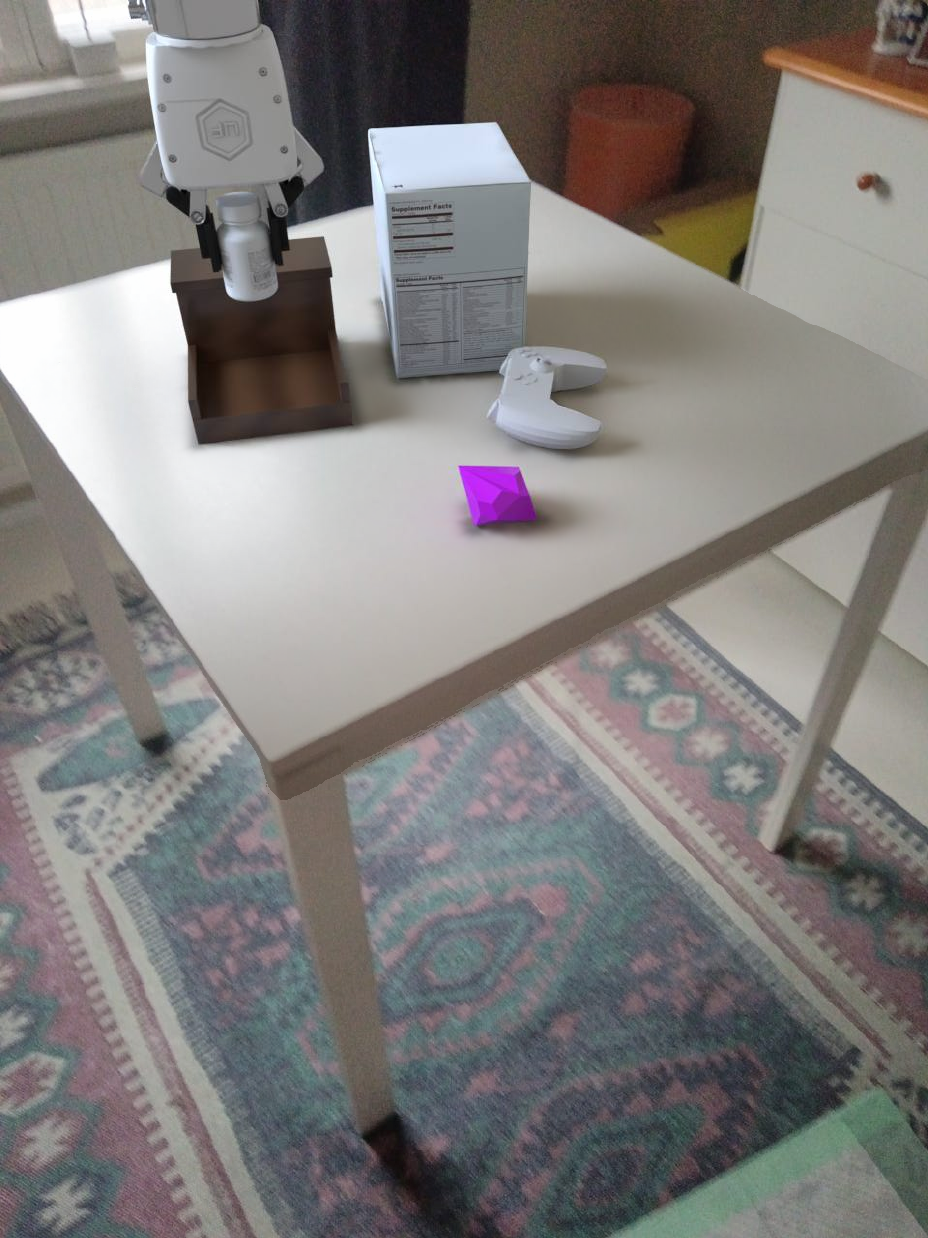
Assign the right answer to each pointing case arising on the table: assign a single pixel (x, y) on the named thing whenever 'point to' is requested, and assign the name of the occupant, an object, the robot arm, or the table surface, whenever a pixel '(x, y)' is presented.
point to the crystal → (496, 494)
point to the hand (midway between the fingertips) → (247, 259)
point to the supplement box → (450, 245)
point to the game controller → (546, 396)
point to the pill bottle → (245, 248)
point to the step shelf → (262, 348)
